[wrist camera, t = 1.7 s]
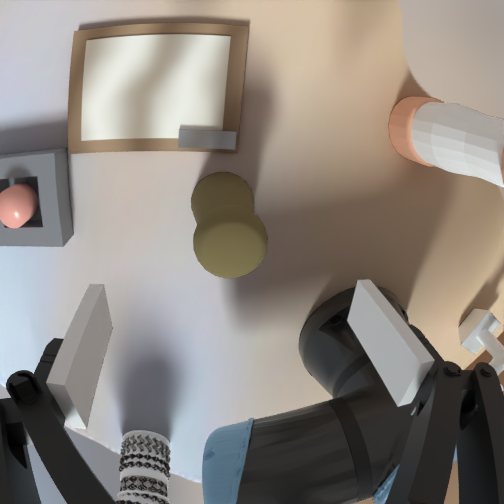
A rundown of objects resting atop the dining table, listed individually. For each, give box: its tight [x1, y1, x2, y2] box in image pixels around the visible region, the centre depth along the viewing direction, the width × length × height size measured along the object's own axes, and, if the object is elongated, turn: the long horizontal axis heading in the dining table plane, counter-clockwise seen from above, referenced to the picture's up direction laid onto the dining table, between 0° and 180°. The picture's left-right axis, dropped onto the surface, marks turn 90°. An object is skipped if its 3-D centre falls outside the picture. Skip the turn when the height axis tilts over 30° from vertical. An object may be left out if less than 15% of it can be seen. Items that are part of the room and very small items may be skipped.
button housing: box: [0, 148, 74, 247], centre depth 26 cm, size 9×9×3 cm
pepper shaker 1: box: [191, 172, 268, 278], centre depth 26 cm, size 6×6×11 cm
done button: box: [0, 182, 38, 228], centre depth 24 cm, size 4×4×2 cm
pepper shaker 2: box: [389, 97, 504, 188], centre depth 22 cm, size 7×7×19 cm
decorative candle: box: [116, 430, 170, 504], centre depth 36 cm, size 9×9×25 cm
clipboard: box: [68, 23, 249, 154], centre depth 25 cm, size 16×12×1 cm
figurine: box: [458, 308, 504, 391], centre depth 39 cm, size 7×9×15 cm
